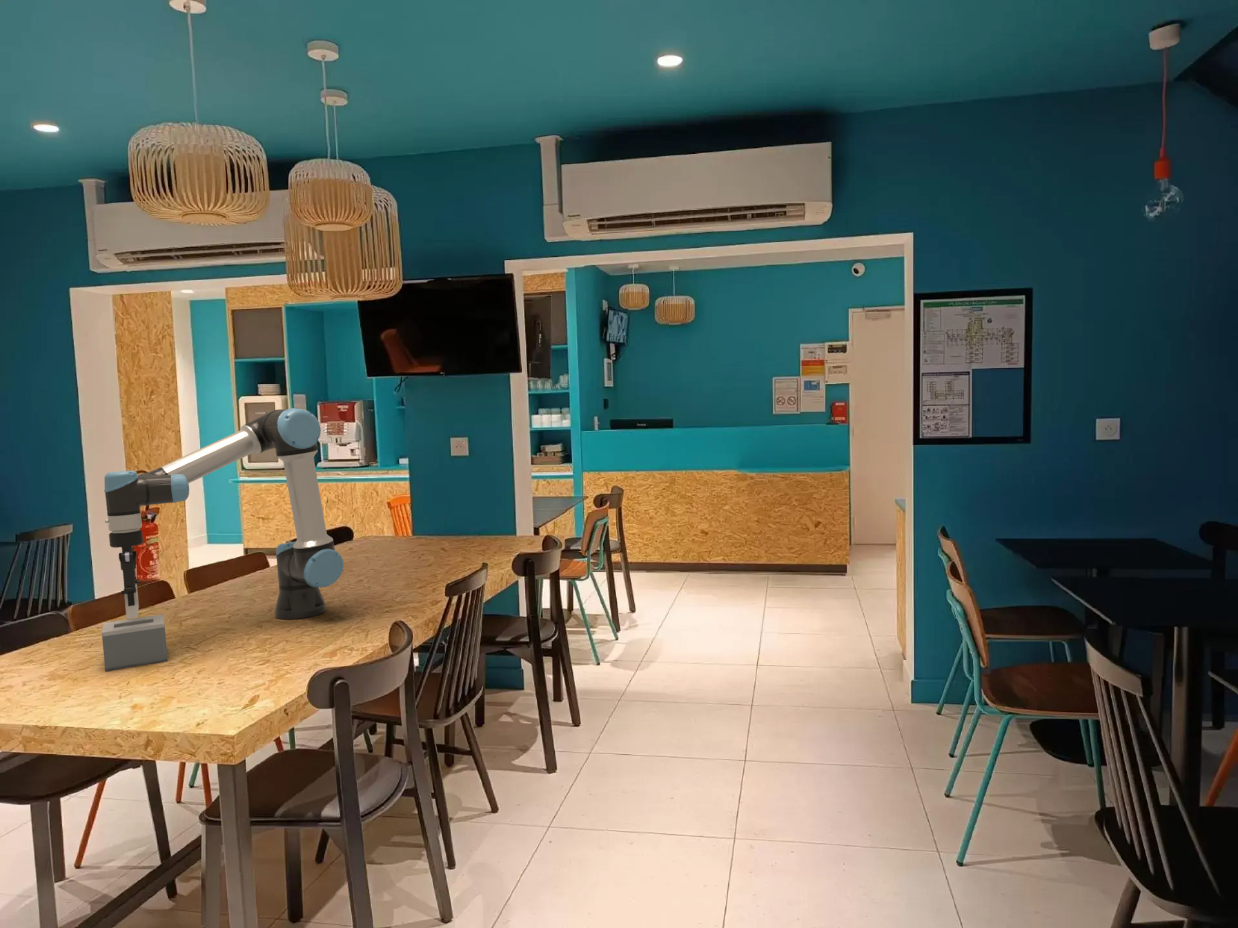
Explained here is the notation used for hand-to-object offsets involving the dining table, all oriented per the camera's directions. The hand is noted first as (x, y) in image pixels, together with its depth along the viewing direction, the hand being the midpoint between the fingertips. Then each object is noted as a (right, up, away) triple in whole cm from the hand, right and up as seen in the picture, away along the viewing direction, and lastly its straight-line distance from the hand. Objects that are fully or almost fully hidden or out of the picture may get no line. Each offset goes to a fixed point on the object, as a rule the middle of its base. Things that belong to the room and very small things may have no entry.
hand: (132, 613), depth 222 cm
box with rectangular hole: (+1, -12, +1) cm, 13 cm away
